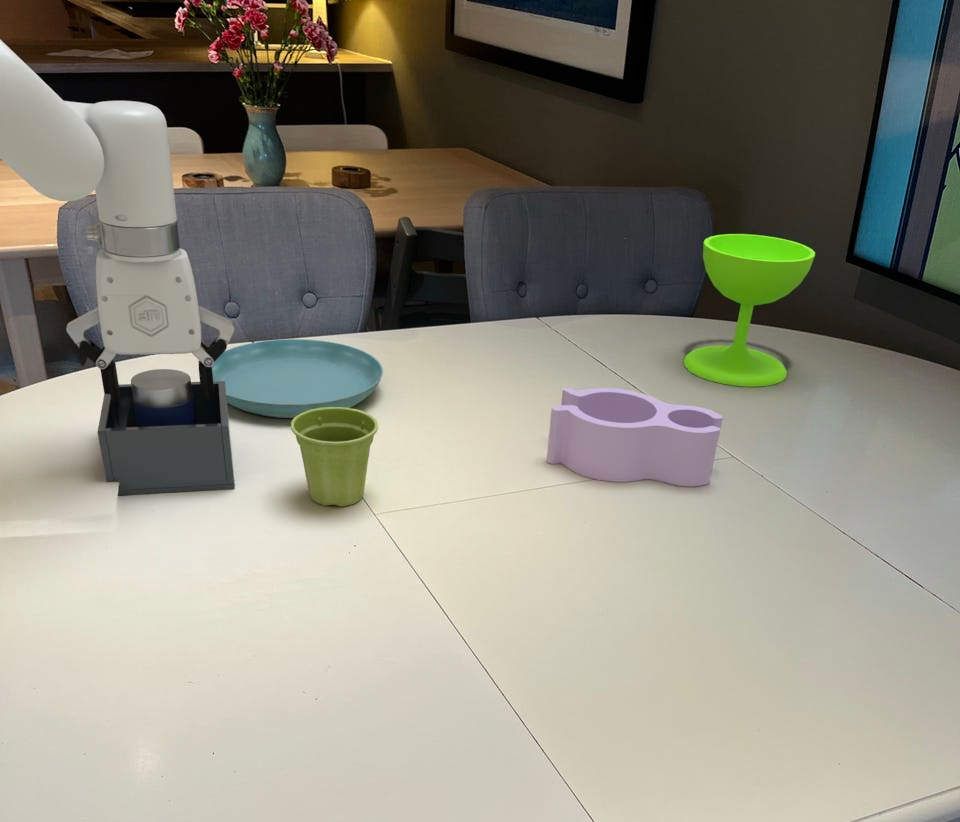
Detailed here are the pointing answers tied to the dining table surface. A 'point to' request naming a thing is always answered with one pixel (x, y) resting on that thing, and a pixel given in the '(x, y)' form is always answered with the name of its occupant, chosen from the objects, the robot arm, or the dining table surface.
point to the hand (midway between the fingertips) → (161, 398)
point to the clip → (633, 437)
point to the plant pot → (335, 452)
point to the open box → (167, 447)
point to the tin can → (163, 398)
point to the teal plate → (295, 376)
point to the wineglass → (748, 302)
